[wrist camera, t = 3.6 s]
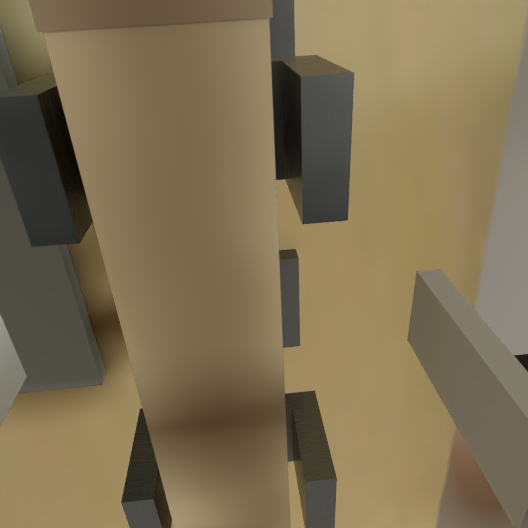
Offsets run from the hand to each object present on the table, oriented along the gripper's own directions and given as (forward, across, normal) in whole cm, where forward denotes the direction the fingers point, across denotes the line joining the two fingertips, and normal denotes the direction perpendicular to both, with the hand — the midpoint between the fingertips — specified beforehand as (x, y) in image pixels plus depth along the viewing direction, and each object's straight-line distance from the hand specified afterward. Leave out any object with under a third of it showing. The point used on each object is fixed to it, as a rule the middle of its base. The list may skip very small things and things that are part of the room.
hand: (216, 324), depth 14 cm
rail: (0, 0, 0) cm, 0 cm away
